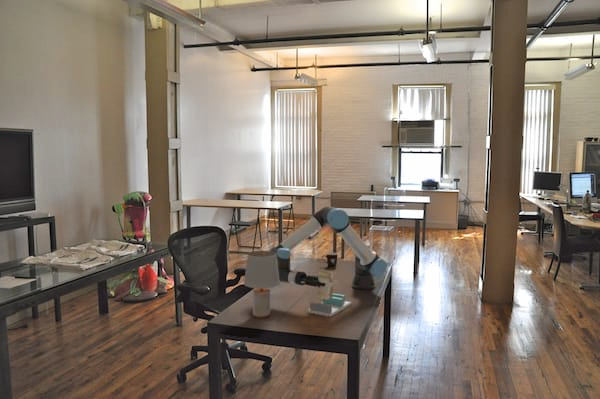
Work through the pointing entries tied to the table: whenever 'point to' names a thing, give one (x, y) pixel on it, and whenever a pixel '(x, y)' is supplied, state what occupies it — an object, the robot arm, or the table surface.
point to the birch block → (325, 291)
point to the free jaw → (335, 300)
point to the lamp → (261, 279)
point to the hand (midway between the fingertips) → (333, 283)
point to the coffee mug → (331, 259)
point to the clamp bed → (334, 309)
